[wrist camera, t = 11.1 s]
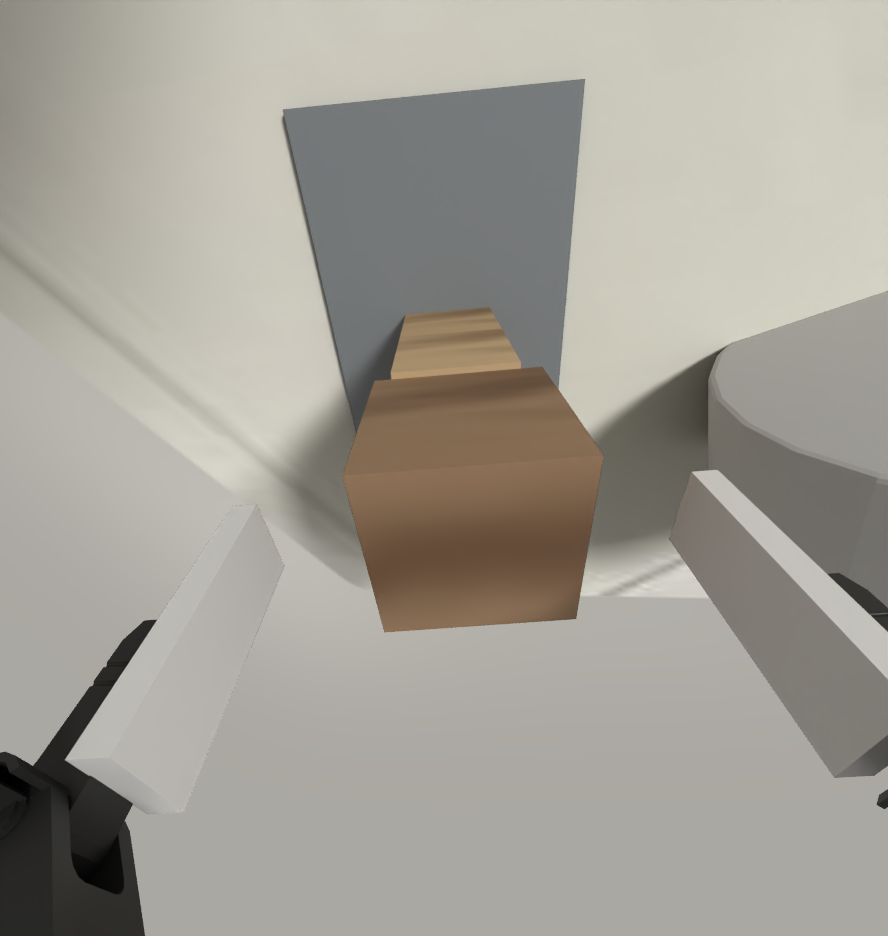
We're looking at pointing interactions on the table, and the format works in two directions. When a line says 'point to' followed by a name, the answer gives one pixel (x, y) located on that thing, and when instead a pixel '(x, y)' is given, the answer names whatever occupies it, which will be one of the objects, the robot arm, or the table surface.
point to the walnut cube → (473, 499)
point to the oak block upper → (453, 354)
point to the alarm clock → (812, 434)
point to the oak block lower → (449, 322)
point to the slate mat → (441, 216)
